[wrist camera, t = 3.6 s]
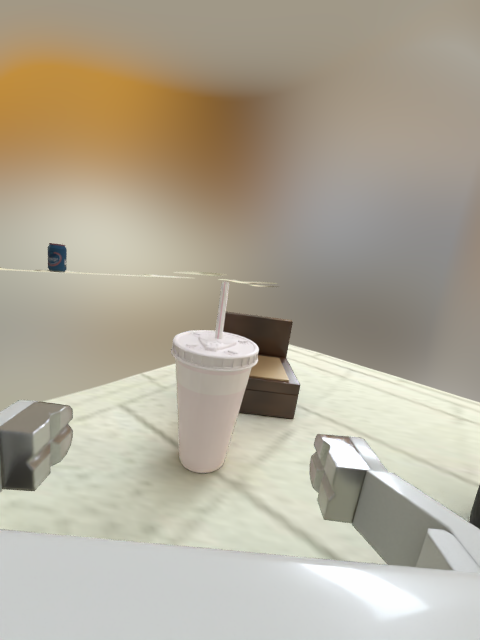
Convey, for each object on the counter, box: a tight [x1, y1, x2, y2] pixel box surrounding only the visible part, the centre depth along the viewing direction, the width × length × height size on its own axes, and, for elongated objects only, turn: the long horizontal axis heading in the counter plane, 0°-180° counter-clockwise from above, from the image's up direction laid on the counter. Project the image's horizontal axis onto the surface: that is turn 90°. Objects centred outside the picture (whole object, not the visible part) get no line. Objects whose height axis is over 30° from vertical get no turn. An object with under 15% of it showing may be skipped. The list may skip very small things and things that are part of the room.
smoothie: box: [171, 282, 259, 473], centre depth 20 cm, size 6×6×14 cm
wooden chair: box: [223, 312, 300, 419], centre depth 32 cm, size 9×9×9 cm
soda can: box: [48, 243, 66, 272], centre depth 123 cm, size 7×7×12 cm
